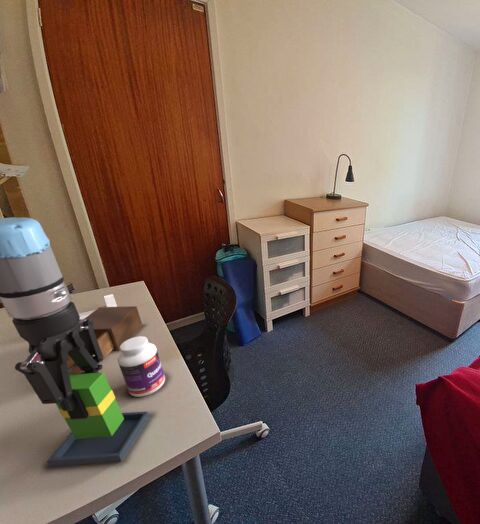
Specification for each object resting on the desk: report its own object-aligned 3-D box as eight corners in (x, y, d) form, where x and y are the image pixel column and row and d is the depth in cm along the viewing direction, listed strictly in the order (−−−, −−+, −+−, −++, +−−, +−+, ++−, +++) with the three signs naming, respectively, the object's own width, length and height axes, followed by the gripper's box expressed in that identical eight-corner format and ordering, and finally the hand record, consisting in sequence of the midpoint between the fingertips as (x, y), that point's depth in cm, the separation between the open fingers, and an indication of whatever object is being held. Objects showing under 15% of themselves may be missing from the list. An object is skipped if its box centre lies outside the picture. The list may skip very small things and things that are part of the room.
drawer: (81, 384, 74) (72, 364, 71) (37, 387, 73) (26, 366, 70) (120, 345, 88) (114, 327, 85) (84, 346, 87) (76, 328, 84)
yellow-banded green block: (75, 439, 57) (47, 391, 52) (90, 421, 61) (66, 374, 56) (112, 436, 58) (88, 388, 53) (124, 418, 62) (104, 372, 57)
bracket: (119, 312, 108) (112, 293, 106) (120, 315, 103) (113, 296, 101) (73, 325, 99) (65, 305, 98) (72, 330, 94) (64, 309, 93)
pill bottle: (157, 397, 72) (143, 352, 66) (123, 400, 71) (105, 355, 65) (171, 373, 79) (159, 331, 74) (139, 376, 78) (125, 334, 72)
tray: (51, 468, 56) (47, 461, 55) (89, 421, 65) (86, 414, 64) (122, 462, 57) (119, 455, 56) (150, 418, 67) (147, 411, 66)
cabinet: (119, 351, 87) (111, 328, 84) (78, 353, 86) (68, 330, 82) (143, 327, 98) (136, 306, 95) (107, 328, 97) (99, 307, 94)
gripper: (18, 340, 41) (75, 446, 50) (102, 285, 56) (134, 374, 65) (-40, 342, 40) (29, 450, 49) (61, 286, 55) (99, 375, 65)
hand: (89, 406), depth 57 cm, fingers closed on yellow-banded green block, 4 cm apart
